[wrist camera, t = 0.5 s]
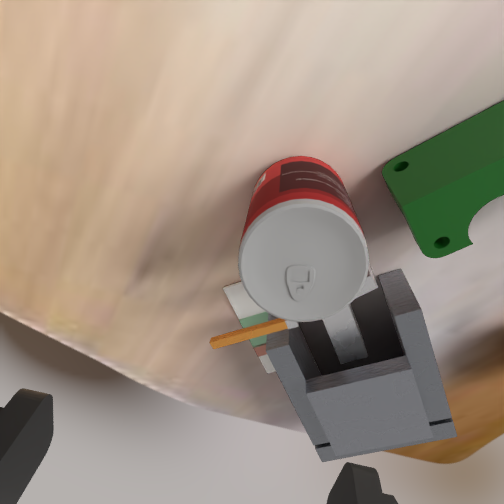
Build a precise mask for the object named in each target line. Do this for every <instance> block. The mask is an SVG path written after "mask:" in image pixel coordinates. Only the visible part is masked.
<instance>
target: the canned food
mask: <svg viewBox="0 0 504 504" xmlns="http://www.w3.org/2000/svg"><path fill="white" fill-rule="evenodd" d="M238 262H239V263H238V267H239V274H240V278H241V281H242V284H243V287H244V289H245V290H246V292H247V293H248V295H249V297H250V298H251V299H252V300H253V301H254V302H255V303H256V304H257V305H258V306H259V307H260V308H262V309H263V310H264V311H266V312H267V313H269V314H271V315H273V316H275V317H278V318H281V319H284V320H288V321H295V322H312V321H317V320H321V319H325V318H327V317H330V316H332V315H335V314H336V313H338V312H340V311H341V310H343V309H344V308H346V307H347V306H348V305H349V304H350V303H351V302H352V301H353V300H354V299H355V298H356V297H357V295H358V294H359V293H360V291H361V289H362V287H363V285H364V283H365V281H366V278H367V274H368V270H369V255H368V248H367V243H366V239H365V237H364V234H363V231H362V228H361V226H360V224H359V221H358V219H357V216H356V214H355V211H354V209H353V206H352V204H351V202H350V199H349V197H348V194H347V192H346V189H345V187H344V185H343V182H342V180H341V178H340V177H339V176H338V174H337V173H336V171H334V170H333V169H332V168H331V167H330V166H329V165H327V164H326V163H324V162H322V161H321V160H318V159H315V158H312V157H305V156H297V157H289V158H286V159H283V160H280V161H279V162H277V163H275V164H273V165H272V166H271V167H269V168H268V169H267V170H266V171H265V172H264V173H263V174H262V176H261V177H260V178H259V180H258V182H257V184H256V186H255V188H254V191H253V195H252V199H251V203H250V207H249V211H248V215H247V218H246V222H245V226H244V230H243V234H242V238H241V244H240V248H239V258H238Z"/></svg>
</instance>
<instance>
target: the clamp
mask: <svg viewBox="0 0 504 504" xmlns="http://www.w3.org/2000/svg"><path fill="white" fill-rule="evenodd" d="M382 175H383V177H384V180H385V182H386V184H387V186H388V188H389V191H390V193H391V195H392V197H393V198H394V200H395V202H396V203H397V205H398V207H399V208H400V210H401V212H402V213H403V215H404V217H405V219H406V221H407V223H408V225H409V228H410V230H411V232H412V234H413V237H414V239H415V241H416V242H417V244H418V246H419V247H420V249H421V251H422V253H423V254H424V255H425V256H427V257H430V258H440V257H444V256H446V255H449V254H451V253H453V252H455V251H458V250H460V249H462V248H465V247H467V246H469V245H472V244H473V243H472V242H471V240H470V239H469V236H468V228H469V224H470V222H471V220H472V218H473V217H474V215H475V214H476V213H477V212H478V211H479V210H480V209H481V208H482V207H483V206H484V205H486V204H487V203H488V202H490V201H492V200H493V199H495V198H497V197H500V196H502V195H504V101H502V102H500V103H498V104H496V105H494V106H492V107H490V108H489V109H487V110H485V111H483V112H481V113H479V114H477V115H475V116H473V117H471V118H470V119H468V120H466V121H464V122H462V123H460V124H458V125H456V126H454V127H452V128H451V129H449V130H447V131H445V132H443V133H441V134H439V135H437V136H435V137H433V138H432V139H430V140H428V141H426V142H424V143H422V144H420V145H418V146H416V147H414V148H412V149H411V150H409V151H407V152H405V153H403V154H401V155H399V156H397V157H395V158H394V159H392V160H390V161H389V162H388V163H387V164H386V165H385V166H384V168H383V170H382Z"/></svg>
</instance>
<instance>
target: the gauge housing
mask: <svg viewBox="0 0 504 504" xmlns="http://www.w3.org/2000/svg"><path fill="white" fill-rule="evenodd" d="M378 277H379V280H380V283H381V286H382V289H383V292H384V295H385V298H386V301H387V304H388V307H389V311H390V314H391V317H392V320H393V323H394V326H395V329H396V332H397V335H398V338H399V342H400V345H401V348H402V351H403V354H404V356H402V357H398V358H394V359H389V360H385V361H381V362H377V363H373V364H369V365H365V366H361V367H357V368H353V369H348V370H344V371H340V372H336V373H332V374H328V375H324V376H322V375H321V373H320V371H319V369H318V367H317V364H316V362H315V360H314V358H313V355H312V353H311V351H310V349H309V346H308V344H307V342H306V340H305V337H304V335H303V333H302V331H301V329H300V326H299V327H295V328H291V329H284V330H281V331H277V332H274V333H270V334H267V339H266V353H267V355H268V357H269V359H270V361H271V363H272V365H273V366H274V368H275V370H276V372H277V374H278V376H279V378H280V380H281V382H282V384H283V386H284V388H285V390H286V392H287V394H288V396H289V398H290V400H291V402H292V404H293V406H294V408H295V410H296V412H297V414H298V416H299V418H300V420H301V422H302V424H303V426H304V428H305V429H306V431H307V433H308V435H309V437H310V439H311V441H312V443H313V445H315V449H316V451H317V453H318V455H319V457H320V459H321V461H322V462H326V461H331V460H336V459H342V458H346V457H352V456H357V455H363V454H368V453H373V452H379V451H384V450H389V449H394V448H400V447H405V446H410V445H416V444H421V443H426V442H431V441H437V440H442V439H447V438H453V437H457V434H456V430H455V427H454V423H453V420H452V416H451V413H450V409H449V406H448V402H447V398H446V395H445V391H444V388H443V384H442V381H441V377H440V374H439V370H438V367H437V363H436V359H435V356H434V352H433V349H432V345H431V342H430V338H429V335H428V331H427V327H426V324H425V320H424V317H423V313H422V310H421V307H420V305H419V303H418V302H417V300H416V298H415V296H414V294H413V292H412V290H411V288H410V286H409V284H408V282H407V280H406V278H405V276H404V274H403V272H402V270H401V269H399V270H395V271H392V272H389V273H385V274H382V275H378ZM274 319H278V317H275V316H273V315H271V314H269V313H268V321H271V320H274Z"/></svg>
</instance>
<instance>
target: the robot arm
mask: <svg viewBox="0 0 504 504" xmlns="http://www.w3.org/2000/svg"><path fill="white" fill-rule="evenodd" d="M52 436H53V397H52V395H50V394H46V393H42V392H37V391H33V390H28V389H20V390H19V391H18V392H17V393H16V394H15V395H14V396H13V397H12V399H11V400H10V401H9V402H8V404H7V405H6V406H5V408H2V407H0V504H17V502H18V500H19V498H20V497H21V495H22V493H23V492H24V490H25V488H26V487H27V485H28V483H29V482H30V480H31V478H32V476H33V475H34V473H35V472H36V470H37V468H38V466H39V465H40V463H41V462H42V460H43V458H44V456H45V455H46V453H47V451H48V448H49V446H50V443H51V440H52ZM327 504H398V503H397V501H396V499H395V498H394V496H393V495H388V494H384V493H382V489H381V484H380V480H379V475H378V473H377V471H376V469H374V468H371V467H367V466H362V465H357V464H353V463H349V462H347V463H346V464H345V465H344V467H343V469H342V470H341V472H340V474H339V476H338V478H337V480H336V482H335V484H334V486H333V488H332V489H331V491H330V493H329V496H328V500H327Z"/></svg>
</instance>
